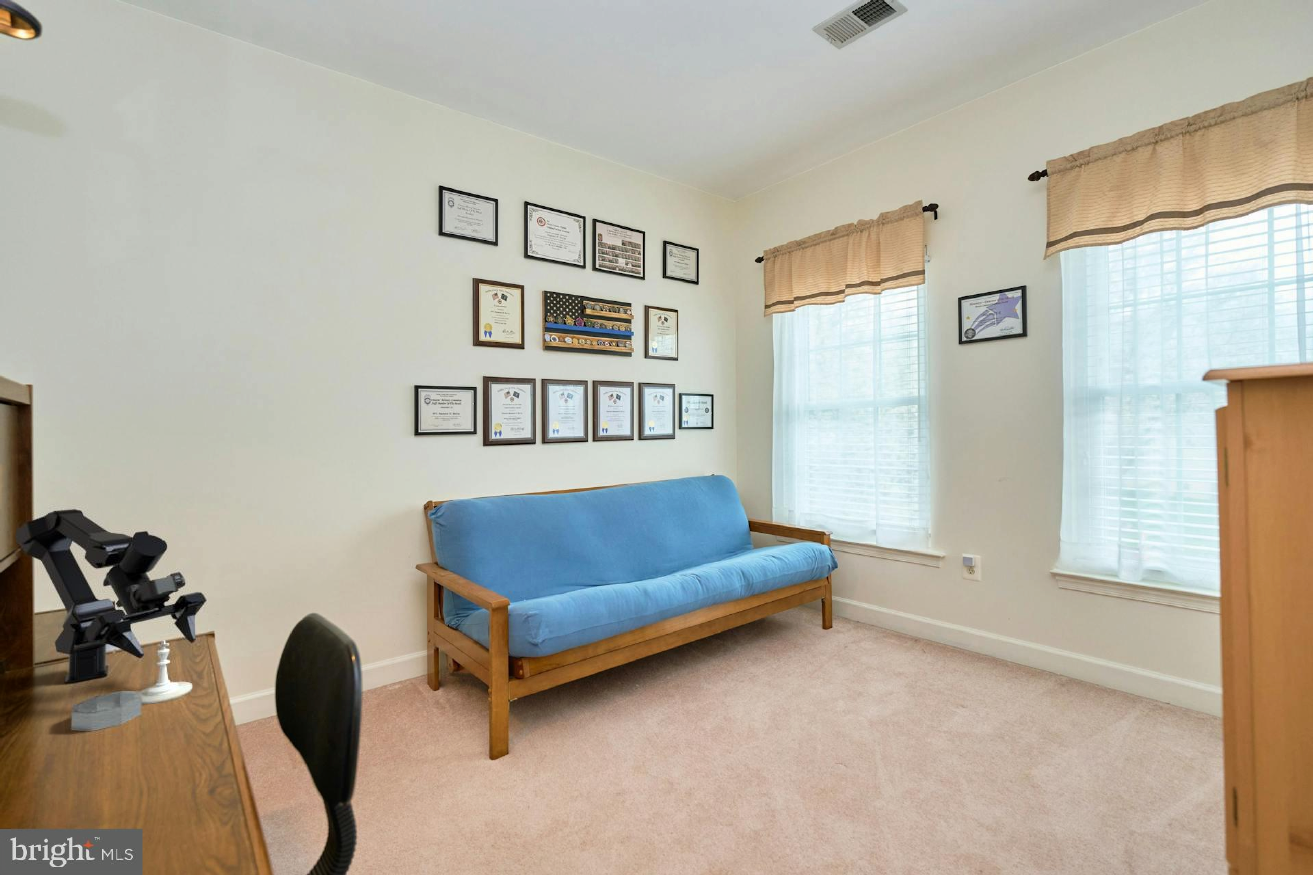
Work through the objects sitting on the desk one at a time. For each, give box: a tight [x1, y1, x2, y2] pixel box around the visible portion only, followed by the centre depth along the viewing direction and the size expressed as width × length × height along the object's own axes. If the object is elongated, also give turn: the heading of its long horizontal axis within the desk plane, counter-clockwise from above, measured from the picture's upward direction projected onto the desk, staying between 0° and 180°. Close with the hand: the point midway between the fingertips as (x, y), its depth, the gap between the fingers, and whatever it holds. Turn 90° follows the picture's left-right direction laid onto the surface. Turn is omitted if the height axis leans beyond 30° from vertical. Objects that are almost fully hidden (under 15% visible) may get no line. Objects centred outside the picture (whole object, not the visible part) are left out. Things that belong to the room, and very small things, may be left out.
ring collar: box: [71, 690, 142, 732], centre depth 108 cm, size 9×9×3 cm
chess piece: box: [147, 639, 179, 696], centre depth 119 cm, size 5×5×10 cm
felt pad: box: [139, 681, 193, 705], centre depth 119 cm, size 9×9×1 cm
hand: (168, 648), depth 118 cm, fingers open, 9 cm apart
